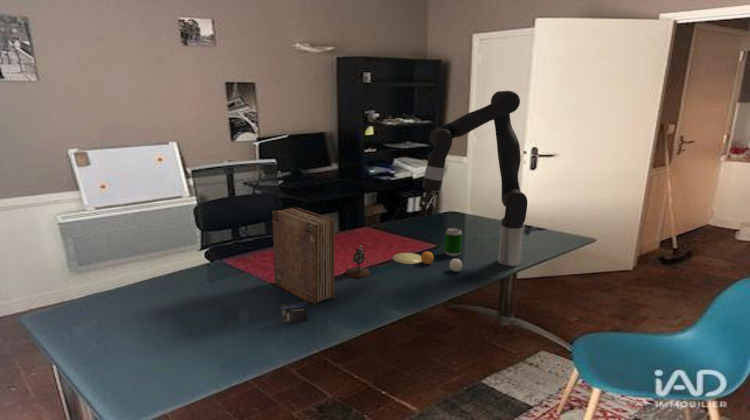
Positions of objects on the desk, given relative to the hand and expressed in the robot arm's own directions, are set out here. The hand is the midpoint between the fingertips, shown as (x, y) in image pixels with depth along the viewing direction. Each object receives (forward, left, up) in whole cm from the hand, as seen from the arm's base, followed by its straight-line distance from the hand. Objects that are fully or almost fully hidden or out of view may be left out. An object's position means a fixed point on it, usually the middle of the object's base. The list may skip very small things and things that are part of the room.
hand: (425, 216), depth 201 cm
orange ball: (-6, -6, -21) cm, 23 cm away
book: (+53, -2, -24) cm, 58 cm away
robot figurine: (+27, -9, -24) cm, 37 cm away
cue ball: (-12, +6, -21) cm, 25 cm away
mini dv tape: (+64, +19, -24) cm, 71 cm away
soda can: (-24, -12, -24) cm, 36 cm away
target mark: (-2, -15, -24) cm, 28 cm away
